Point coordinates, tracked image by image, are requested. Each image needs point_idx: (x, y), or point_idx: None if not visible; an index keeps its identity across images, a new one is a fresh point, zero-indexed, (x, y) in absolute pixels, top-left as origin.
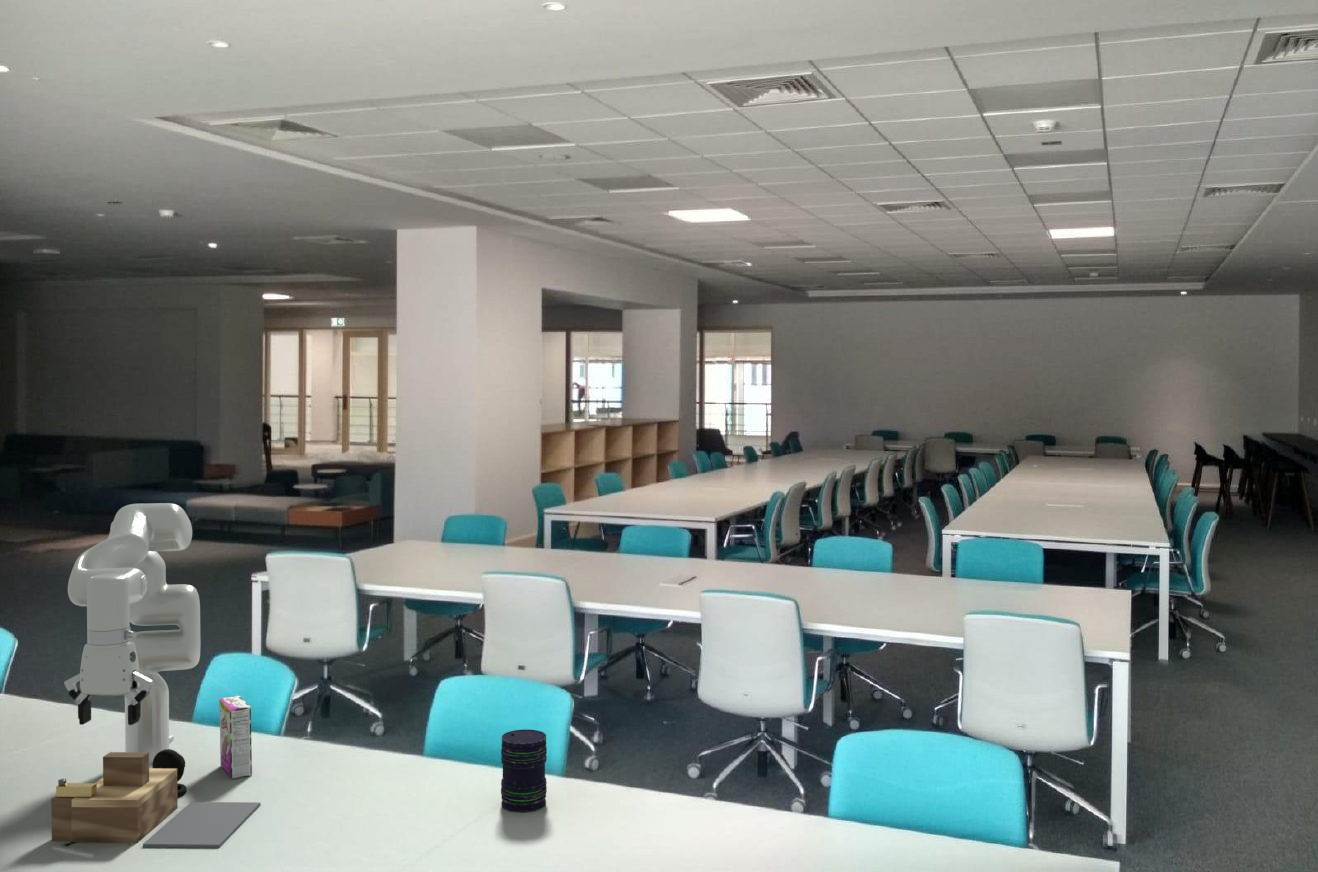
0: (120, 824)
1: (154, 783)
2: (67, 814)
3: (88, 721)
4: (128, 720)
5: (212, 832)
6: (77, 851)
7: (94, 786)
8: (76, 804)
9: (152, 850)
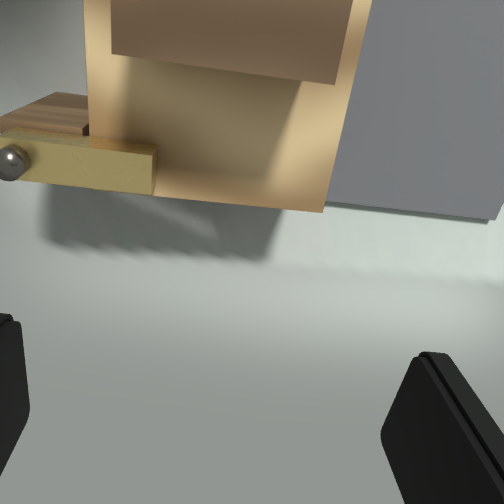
0: None
1: (347, 38)
2: None
3: (23, 354)
4: (393, 463)
5: (482, 144)
6: (166, 206)
7: (152, 170)
8: None
9: (343, 216)
